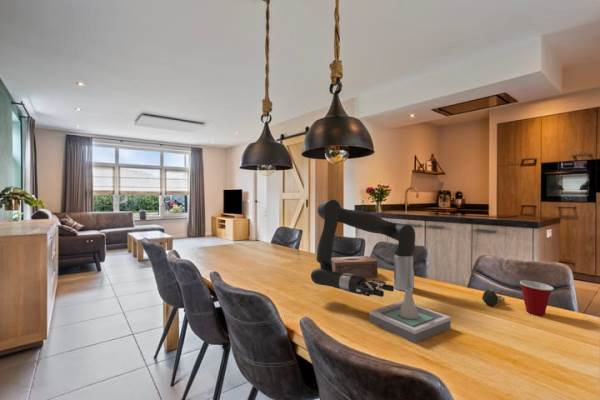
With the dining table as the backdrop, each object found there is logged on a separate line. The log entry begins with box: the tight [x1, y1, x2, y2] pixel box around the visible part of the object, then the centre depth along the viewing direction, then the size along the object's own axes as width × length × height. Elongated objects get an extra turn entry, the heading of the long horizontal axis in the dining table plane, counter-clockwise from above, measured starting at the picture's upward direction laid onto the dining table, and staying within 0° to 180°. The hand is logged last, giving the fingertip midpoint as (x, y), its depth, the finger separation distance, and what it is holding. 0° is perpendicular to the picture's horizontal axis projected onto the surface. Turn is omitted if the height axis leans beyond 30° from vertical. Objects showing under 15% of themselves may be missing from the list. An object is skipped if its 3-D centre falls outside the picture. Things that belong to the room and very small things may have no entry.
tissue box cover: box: [331, 255, 379, 279], centre depth 181 cm, size 26×14×10 cm, turn 99°
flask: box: [398, 288, 419, 319], centre depth 110 cm, size 7×7×10 cm
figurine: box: [481, 289, 505, 307], centre depth 133 cm, size 8×6×15 cm
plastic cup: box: [519, 280, 554, 317], centre depth 120 cm, size 11×11×12 cm
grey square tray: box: [369, 300, 452, 344], centre depth 110 cm, size 20×20×4 cm
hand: (388, 291), depth 115 cm, fingers open, 8 cm apart
